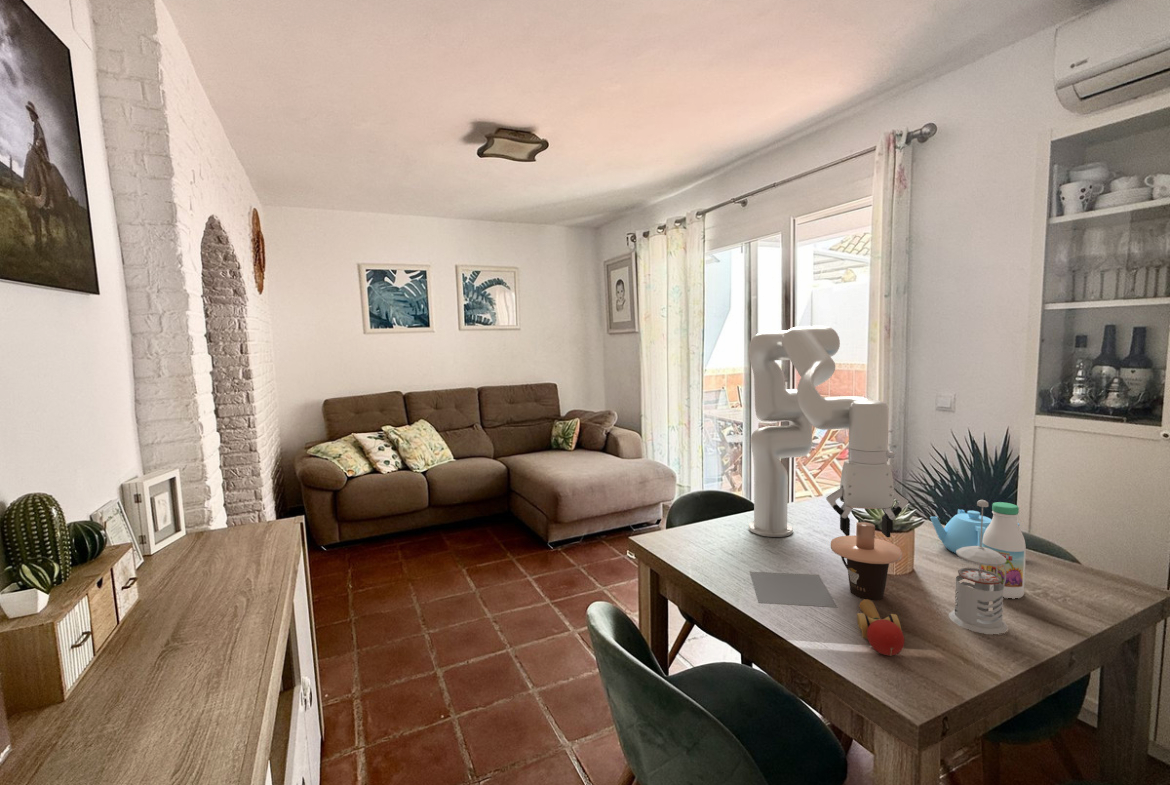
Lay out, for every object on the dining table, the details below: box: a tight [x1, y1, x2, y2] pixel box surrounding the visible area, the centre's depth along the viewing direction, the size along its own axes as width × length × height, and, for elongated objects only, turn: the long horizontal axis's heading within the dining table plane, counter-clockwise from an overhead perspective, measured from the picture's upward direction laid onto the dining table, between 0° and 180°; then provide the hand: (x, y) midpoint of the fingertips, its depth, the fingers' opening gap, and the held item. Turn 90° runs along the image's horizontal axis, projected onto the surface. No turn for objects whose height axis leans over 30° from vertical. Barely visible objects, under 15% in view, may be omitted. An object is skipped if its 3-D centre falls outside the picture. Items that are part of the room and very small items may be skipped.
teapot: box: [929, 508, 1020, 555], centre depth 143 cm, size 15×15×11 cm
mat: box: [749, 570, 839, 608], centre depth 122 cm, size 16×16×1 cm
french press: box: [948, 499, 1009, 635], centre depth 107 cm, size 10×12×25 cm
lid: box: [830, 521, 903, 565], centre depth 119 cm, size 14×14×6 cm
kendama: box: [856, 599, 905, 657], centre depth 104 cm, size 8×6×18 cm
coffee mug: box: [840, 556, 890, 601], centre depth 120 cm, size 12×9×10 cm
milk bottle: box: [981, 501, 1027, 600], centre depth 119 cm, size 8×8×20 cm
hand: (865, 534), depth 119 cm, fingers open, 7 cm apart
